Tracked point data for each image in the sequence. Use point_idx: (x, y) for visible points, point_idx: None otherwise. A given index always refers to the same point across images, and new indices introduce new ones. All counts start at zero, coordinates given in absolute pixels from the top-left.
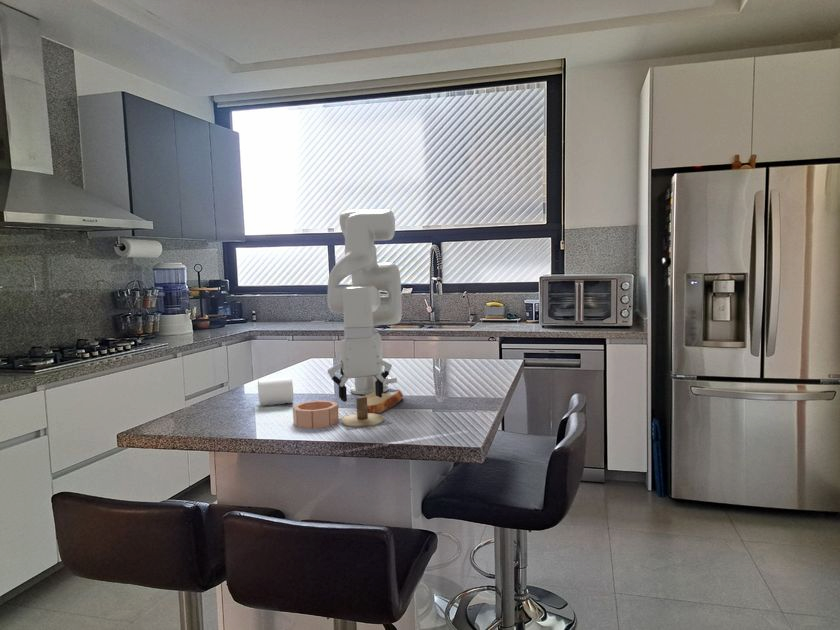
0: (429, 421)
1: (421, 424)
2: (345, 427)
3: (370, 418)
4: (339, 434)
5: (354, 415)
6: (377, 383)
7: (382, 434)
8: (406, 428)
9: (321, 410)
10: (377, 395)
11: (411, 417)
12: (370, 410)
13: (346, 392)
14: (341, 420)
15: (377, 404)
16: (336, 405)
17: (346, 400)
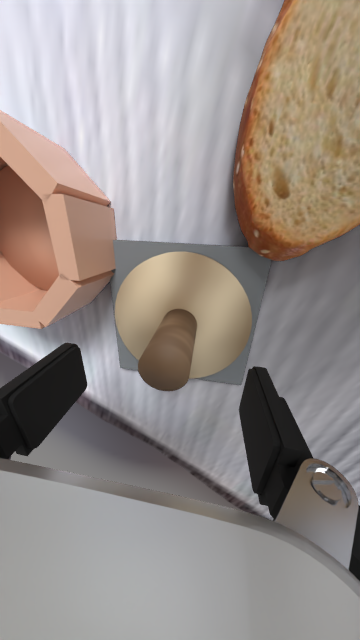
0: (349, 405)
1: (308, 412)
2: (120, 346)
3: (200, 340)
4: (103, 365)
5: (169, 272)
6: (259, 470)
7: (186, 414)
8: None
9: (18, 325)
10: (244, 392)
11: (349, 345)
12: (253, 243)
13: (59, 420)
14: (124, 270)
15: (300, 245)
16: (71, 294)
17: (84, 389)
